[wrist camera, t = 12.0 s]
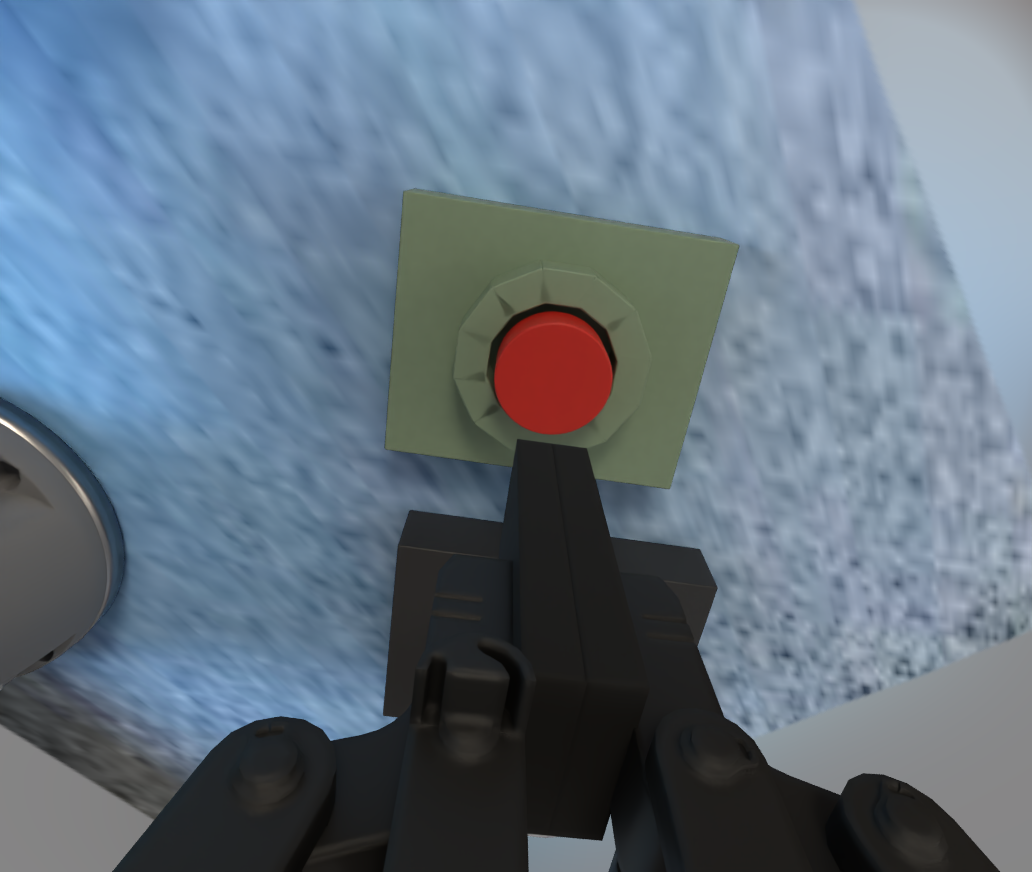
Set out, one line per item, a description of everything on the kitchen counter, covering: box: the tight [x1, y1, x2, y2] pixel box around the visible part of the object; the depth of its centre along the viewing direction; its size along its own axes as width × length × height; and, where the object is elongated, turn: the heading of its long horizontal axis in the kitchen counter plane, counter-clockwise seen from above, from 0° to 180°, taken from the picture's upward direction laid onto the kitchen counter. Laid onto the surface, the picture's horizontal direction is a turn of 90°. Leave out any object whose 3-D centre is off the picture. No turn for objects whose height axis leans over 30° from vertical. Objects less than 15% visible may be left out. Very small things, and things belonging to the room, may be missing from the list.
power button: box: [494, 311, 613, 435], centre depth 22 cm, size 4×4×2 cm
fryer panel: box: [383, 510, 717, 717], centre depth 30 cm, size 14×10×3 cm
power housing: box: [385, 189, 739, 489], centre depth 24 cm, size 12×10×4 cm
